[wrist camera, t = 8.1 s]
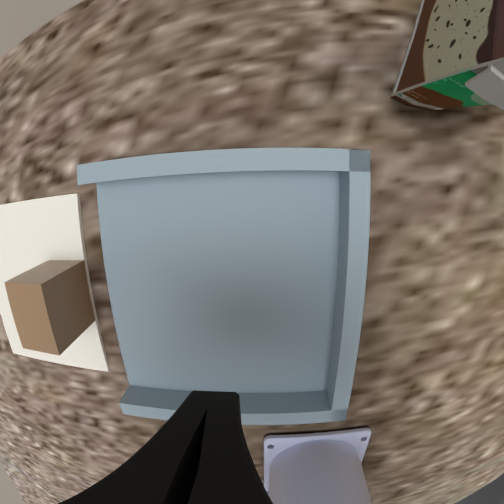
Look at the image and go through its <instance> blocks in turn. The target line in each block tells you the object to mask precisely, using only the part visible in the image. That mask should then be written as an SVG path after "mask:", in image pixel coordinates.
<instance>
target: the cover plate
mask: <svg viewBox="0 0 504 504" xmlns="http://www.w3.org/2000/svg"><path fill="white" fill-rule="evenodd" d="M0 313H1V317H2V320H3V323H4V327H5V330H6V333H7V336H8V339H9V342H10V345H11V348H12V351H13V353H15V354H19V355H23V356H27V357H32V358H36V359H40V360H45V361H50V362H54V363H59V364H65V365H70V366H75V367H81V368H87V369H93V370H100V371H107V372H109V371H110V367H109V363H108V359H107V356H106V352H105V348H104V344H103V340H102V336H101V332H100V327H99V323H98V318H97V314H96V309H95V304H94V299H93V294H92V288H91V282H90V277H89V270H88V264H87V257H86V250H85V242H84V233H83V224H82V214H81V201H80V193H76V194H68V195H60V196H53V197H46V198H39V199H33V200H26V201H20V202H14V203H8V204H2V205H0Z"/></svg>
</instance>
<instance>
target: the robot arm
mask: <svg viewBox="0 0 504 504" xmlns="http://www.w3.org/2000/svg"><path fill="white" fill-rule="evenodd" d="M370 436H371V430H370V429H369V428H359V429H351V430H343V431H333V432H322V433H309V434H290V435H268V436H266V437H265V438H264V486H263V484H262V482H261V479H260V477H259V475H258V473H257V471H256V468H255V466H254V463H253V461H252V458H251V456H250V453H249V450H248V447H247V444H246V440H245V437H244V434H243V430H242V422H241V410H240V397H239V394H237V393H236V392H221V391H196V390H193V391H192V392H191V393H190V394H189V395H188V396H187V398H186V399H185V400H184V401H183V403H182V404H181V405H180V406H179V408H178V409H177V410H176V411H175V413H174V414H173V415H172V416H171V417H170V418H169V420H168V421H167V422H166V423H165V424H164V425H163V426H162V427H161V428H160V429H159V431H158V432H157V433H156V434H155V435H154V436H153V437H152V438H151V439H150V440H149V441H148V442H147V443H146V444H145V445H144V446H143V447H142V448H140V449H139V450H138V451H137V452H136V453H135V454H134V455H133V456H132V457H131V458H130V459H128V460H127V461H126V462H125V463H124V464H122V465H121V466H120V467H119V468H117V469H116V470H115V471H113V472H112V473H111V474H109V475H108V476H106V477H105V478H104V479H102V480H100V481H99V482H97V483H96V484H94V485H93V486H91V487H89V488H88V489H86V490H84V491H83V492H81V493H79V494H77V495H75V496H73V497H72V498H69V499H67V500H65V501H63V502H61V503H58V504H372V502H371V498H370V494H369V491H368V487H367V483H366V480H365V476H364V473H363V469H362V465H361V463H362V460H363V457H364V454H365V451H366V448H367V445H368V442H369V439H370ZM363 437H364V438H363Z"/></svg>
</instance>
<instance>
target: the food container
mask: <svg viewBox="0 0 504 504" xmlns="http://www.w3.org/2000/svg"><path fill="white" fill-rule="evenodd" d="M391 98H393V99H395V100H397V101H399V102H401V103H403V104H405V105H407V106H411V107H416V108H420V109H425V110H429V111H433V110H441V109H450V108H459V107H468V106H479V105H491V104H493V105H495V106H497V107H498V108H500V109H502V110H504V0H422V1H421V4H420V8H419V11H418V15H417V18H416V21H415V25H414V28H413V31H412V34H411V38H410V41H409V44H408V47H407V50H406V53H405V56H404V59H403V62H402V65H401V68H400V71H399V74H398V77H397V80H396V83H395V85H394V88H393V91H392V94H391Z"/></svg>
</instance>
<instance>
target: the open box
mask: <svg viewBox="0 0 504 504" xmlns="http://www.w3.org/2000/svg"><path fill="white" fill-rule="evenodd" d="M77 181H78V185H82V184H92V183H96V184H97V200H98V212H99V223H100V233H101V242H102V250H103V258H104V265H105V272H106V279H107V285H108V291H109V297H110V302H111V307H112V313H113V318H114V323H115V327H116V332H117V337H118V341H119V345H120V350H121V354H122V358H123V362H124V366H125V370H126V373H127V377H128V381H129V384H130V385H129V387H128V389H127V391H126V392H125V394H124V396H123V397H122V399H121V401H120V402H119V403H120V406H121V409H122V412H123V414H126V415H133V416H139V417H146V418H154V419H162V420H169V418H170V417H171V416H172V415H173V414H174V413H175V411H176V410H177V409H178V408H179V406H180V405H181V404H182V403H183V401H184V400H185V399H186V398H187V396H188V395H189V394H190V393H191V392H192V391H193V390H196V391H221V392H236V393H237V394H239V397H240V410H241V422H242V425H289V424H308V423H322V422H334V421H343V420H346V415H347V411H348V406H349V401H350V395H351V390H352V384H353V379H354V373H355V367H356V360H357V354H358V347H359V340H360V333H361V325H362V316H363V307H364V298H365V287H366V276H367V262H368V246H369V225H370V150H356V149H333V148H245V149H221V150H204V151H190V152H177V153H166V154H156V155H147V156H138V157H130V158H122V159H114V160H107V161H101V162H94V163H88V164H82V165H77Z"/></svg>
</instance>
